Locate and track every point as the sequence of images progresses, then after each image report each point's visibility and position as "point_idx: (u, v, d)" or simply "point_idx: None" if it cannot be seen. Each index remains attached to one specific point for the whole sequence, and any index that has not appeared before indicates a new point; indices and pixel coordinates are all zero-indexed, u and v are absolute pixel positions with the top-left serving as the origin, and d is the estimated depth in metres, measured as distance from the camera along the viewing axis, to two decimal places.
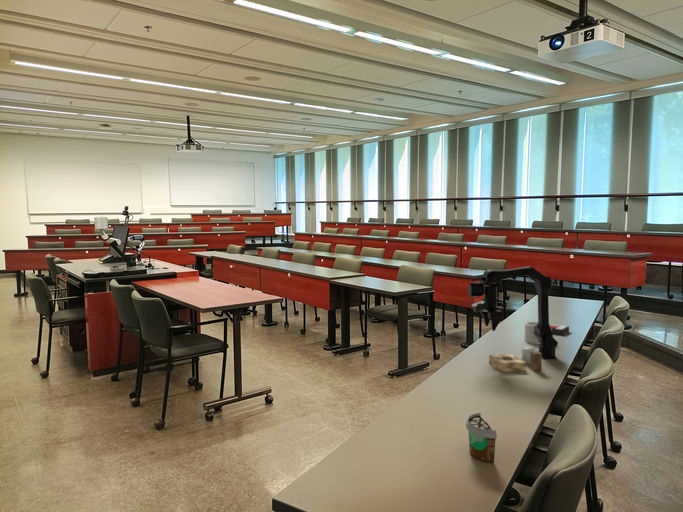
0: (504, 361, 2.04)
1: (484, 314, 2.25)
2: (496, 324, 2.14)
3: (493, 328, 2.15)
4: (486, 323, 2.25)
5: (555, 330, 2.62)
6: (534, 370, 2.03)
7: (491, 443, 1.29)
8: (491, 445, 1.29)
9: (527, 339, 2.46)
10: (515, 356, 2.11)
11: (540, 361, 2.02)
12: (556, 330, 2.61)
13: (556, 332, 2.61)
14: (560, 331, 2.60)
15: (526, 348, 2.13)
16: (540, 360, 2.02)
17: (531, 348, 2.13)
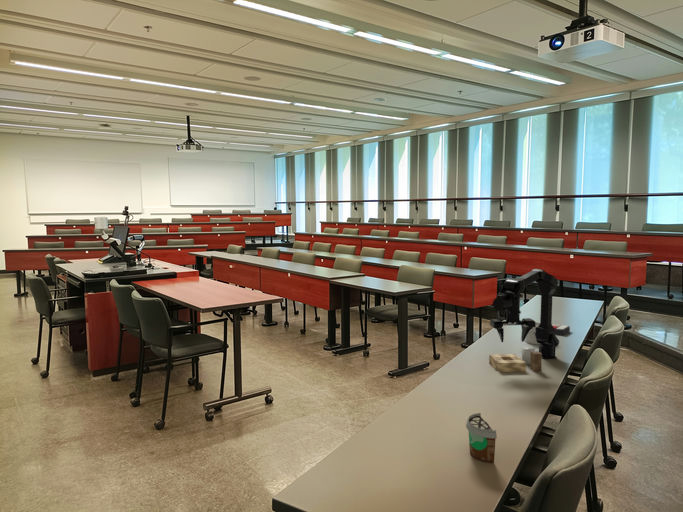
0: (504, 361, 2.04)
1: (522, 328, 2.08)
2: (500, 335, 2.06)
3: None
4: (521, 338, 2.07)
5: (556, 330, 2.62)
6: (534, 370, 2.03)
7: (491, 443, 1.29)
8: (491, 445, 1.29)
9: (527, 339, 2.46)
10: (515, 356, 2.11)
11: (540, 361, 2.02)
12: (557, 330, 2.62)
13: (557, 332, 2.62)
14: (561, 331, 2.60)
15: (526, 348, 2.13)
16: (540, 360, 2.02)
17: (531, 348, 2.13)
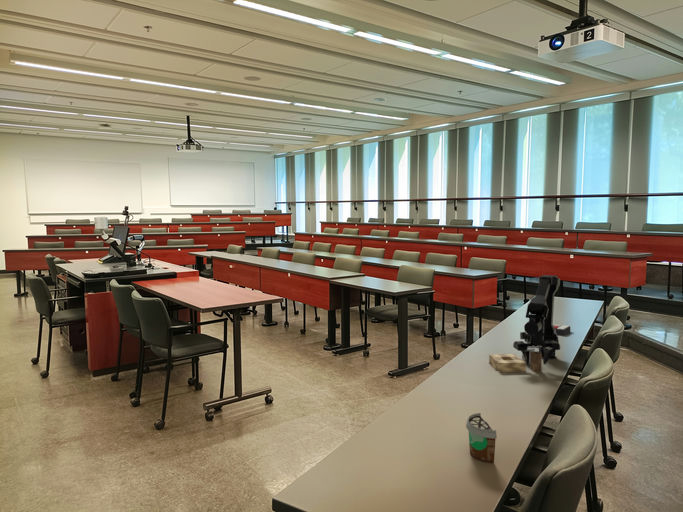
0: (504, 361, 2.04)
1: (544, 351, 2.05)
2: (526, 358, 2.03)
3: (526, 361, 2.04)
4: (544, 361, 2.04)
5: (556, 330, 2.62)
6: (534, 370, 2.03)
7: (491, 443, 1.29)
8: (491, 445, 1.29)
9: None
10: (515, 356, 2.11)
11: (540, 361, 2.02)
12: (557, 330, 2.62)
13: (557, 332, 2.62)
14: (561, 331, 2.60)
15: None
16: (540, 360, 2.02)
17: (531, 348, 2.13)
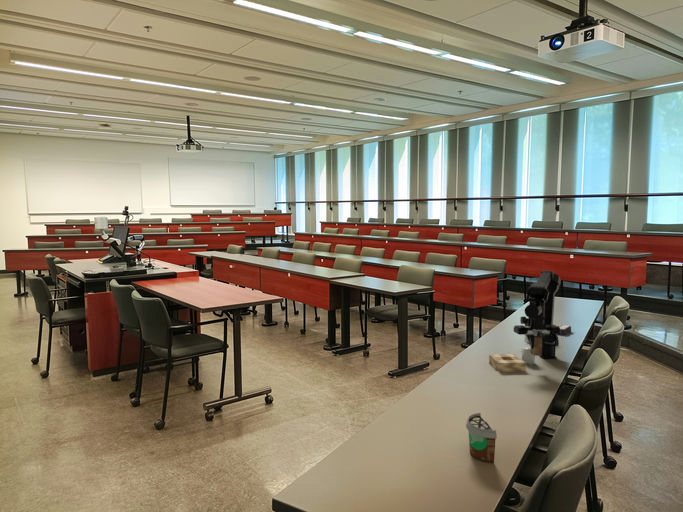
0: (504, 361, 2.04)
1: (540, 335, 2.04)
2: (530, 342, 2.02)
3: (530, 345, 2.03)
4: None
5: None
6: (534, 354, 2.02)
7: (491, 443, 1.29)
8: (491, 445, 1.29)
9: (527, 339, 2.46)
10: (515, 356, 2.11)
11: (540, 345, 2.01)
12: None
13: None
14: (562, 331, 2.60)
15: (526, 348, 2.13)
16: (540, 344, 2.01)
17: None
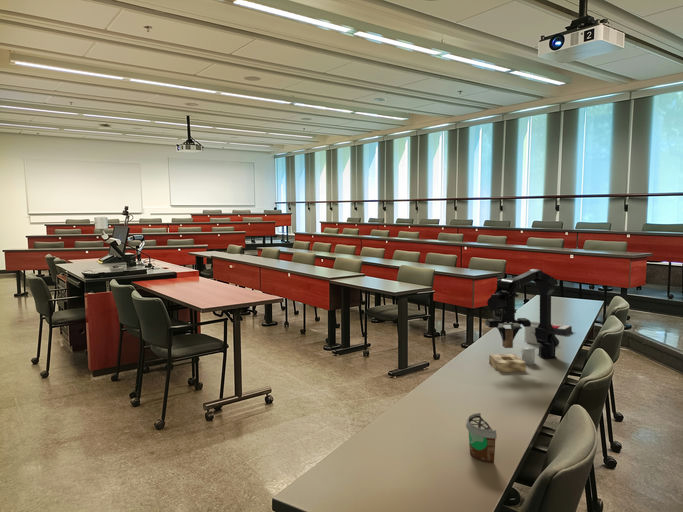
0: (504, 361, 2.04)
1: (511, 328, 2.08)
2: (501, 334, 2.06)
3: (502, 338, 2.08)
4: None
5: (557, 330, 2.62)
6: (506, 346, 2.06)
7: (491, 443, 1.29)
8: (491, 445, 1.29)
9: (527, 339, 2.46)
10: (515, 356, 2.11)
11: (511, 338, 2.06)
12: (558, 330, 2.62)
13: (558, 332, 2.62)
14: (562, 331, 2.60)
15: (526, 348, 2.13)
16: (511, 337, 2.06)
17: (531, 348, 2.13)
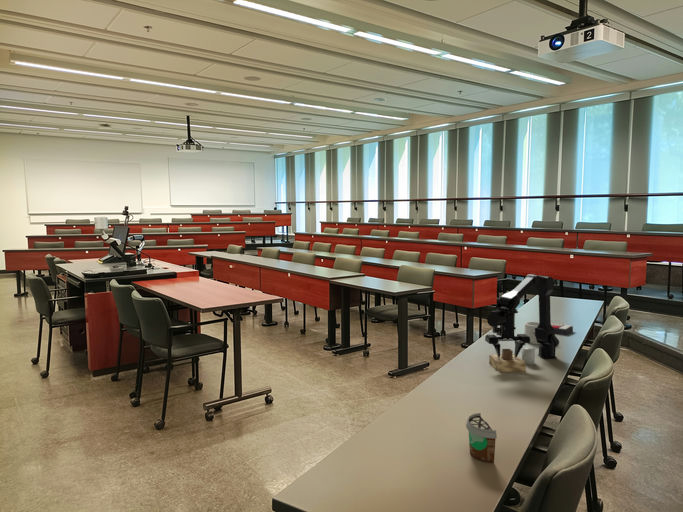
0: (504, 361, 2.04)
1: (515, 344, 2.09)
2: (497, 351, 2.07)
3: (497, 354, 2.08)
4: (515, 354, 2.09)
5: (558, 330, 2.62)
6: None
7: (491, 443, 1.29)
8: (491, 445, 1.29)
9: None
10: None
11: (511, 358, 2.07)
12: (559, 330, 2.62)
13: (559, 332, 2.62)
14: (563, 331, 2.61)
15: (526, 348, 2.13)
16: (511, 357, 2.07)
17: (531, 348, 2.13)
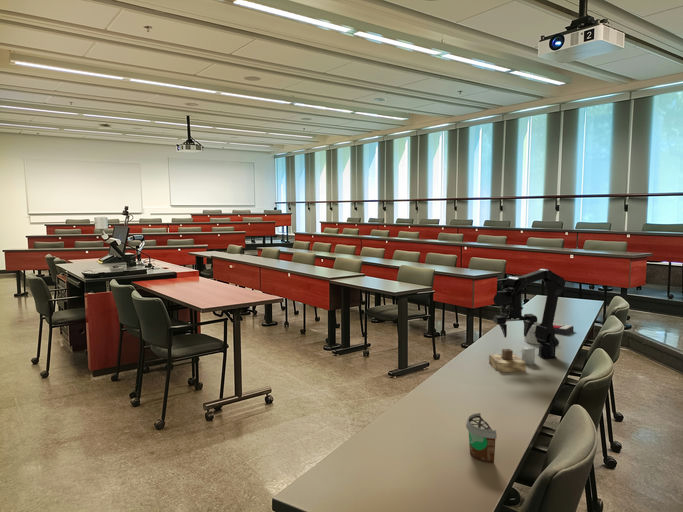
0: (504, 361, 2.04)
1: (524, 324, 2.14)
2: (503, 331, 2.12)
3: (504, 334, 2.13)
4: (524, 333, 2.14)
5: (559, 330, 2.63)
6: None
7: (491, 443, 1.29)
8: (491, 445, 1.29)
9: (527, 339, 2.46)
10: (515, 356, 2.11)
11: (511, 358, 2.07)
12: (560, 330, 2.62)
13: (560, 332, 2.62)
14: (564, 331, 2.61)
15: (526, 348, 2.13)
16: (511, 357, 2.07)
17: (531, 348, 2.13)
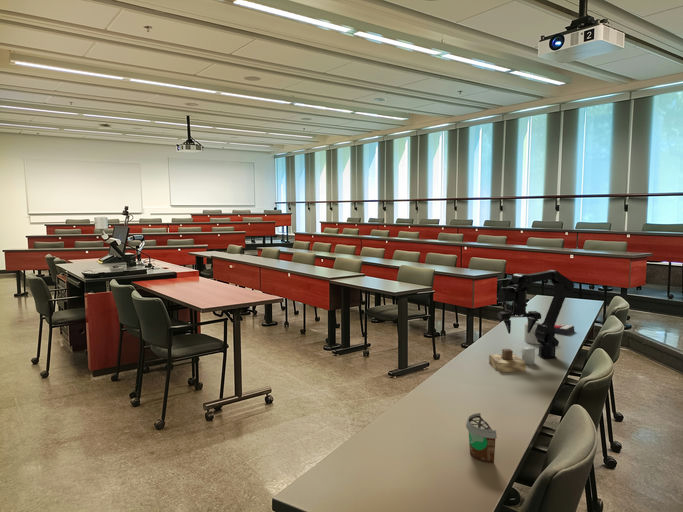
0: (504, 361, 2.04)
1: (528, 320, 2.18)
2: (507, 327, 2.15)
3: (507, 330, 2.17)
4: (527, 330, 2.17)
5: (559, 330, 2.63)
6: None
7: (491, 443, 1.29)
8: (491, 445, 1.29)
9: (527, 339, 2.46)
10: (515, 356, 2.11)
11: (511, 358, 2.07)
12: (560, 330, 2.62)
13: (560, 332, 2.62)
14: (564, 331, 2.61)
15: (526, 348, 2.13)
16: (511, 357, 2.07)
17: (531, 348, 2.13)
